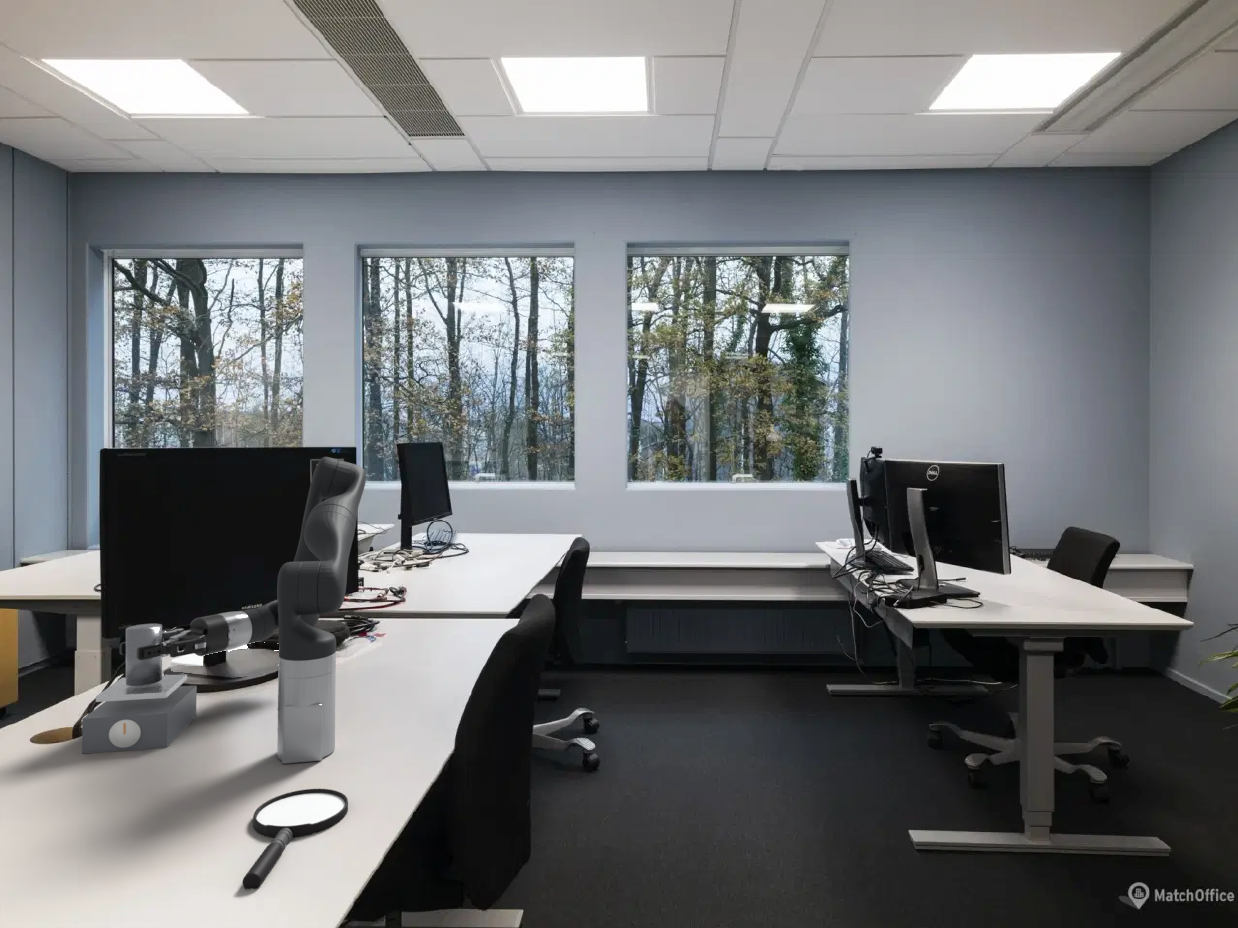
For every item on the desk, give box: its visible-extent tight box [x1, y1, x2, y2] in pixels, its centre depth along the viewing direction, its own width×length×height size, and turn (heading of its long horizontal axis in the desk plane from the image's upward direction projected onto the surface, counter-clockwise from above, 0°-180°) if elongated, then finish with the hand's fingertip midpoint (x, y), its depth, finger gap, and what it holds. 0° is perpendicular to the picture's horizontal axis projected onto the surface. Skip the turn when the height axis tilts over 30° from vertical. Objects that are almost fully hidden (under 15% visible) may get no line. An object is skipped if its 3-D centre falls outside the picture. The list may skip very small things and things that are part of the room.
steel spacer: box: [125, 623, 163, 686], centre depth 133 cm, size 6×6×10 cm
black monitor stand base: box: [170, 645, 279, 668], centre depth 180 cm, size 22×22×3 cm
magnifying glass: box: [242, 788, 349, 890], centre depth 98 cm, size 12×24×2 cm, turn 6°
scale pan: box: [95, 673, 188, 703], centre depth 133 cm, size 11×11×1 cm
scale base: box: [81, 685, 198, 754], centre depth 133 cm, size 16×13×6 cm
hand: (129, 651), depth 131 cm, fingers closed on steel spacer, 5 cm apart
